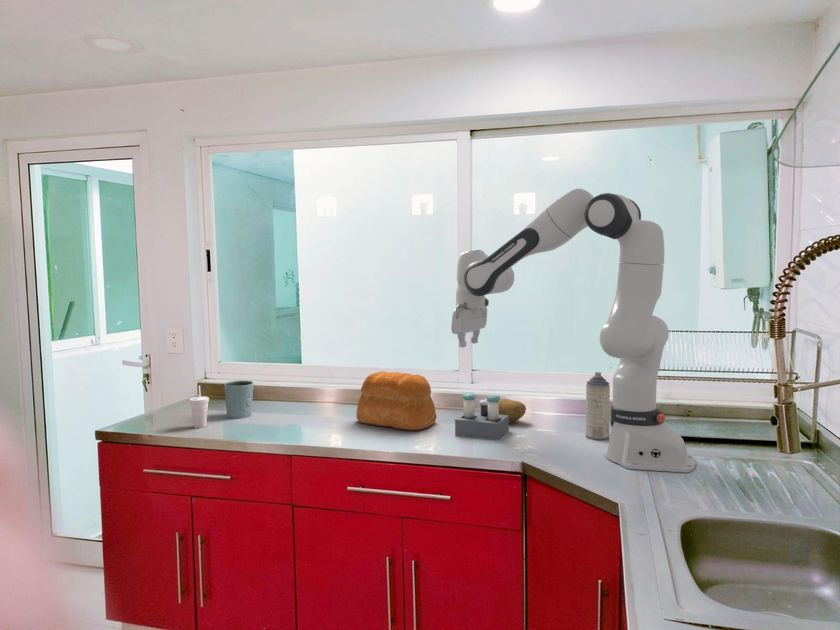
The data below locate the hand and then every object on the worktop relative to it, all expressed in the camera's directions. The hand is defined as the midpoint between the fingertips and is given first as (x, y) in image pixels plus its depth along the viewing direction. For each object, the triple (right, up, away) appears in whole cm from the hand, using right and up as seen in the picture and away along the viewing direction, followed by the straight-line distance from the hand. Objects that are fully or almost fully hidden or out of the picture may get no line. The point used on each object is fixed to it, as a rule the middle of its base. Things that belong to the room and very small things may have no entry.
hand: (468, 345), depth 189 cm
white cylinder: (0, -23, 0) cm, 23 cm away
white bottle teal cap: (+7, -23, -4) cm, 24 cm away
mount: (+4, -28, -1) cm, 28 cm away
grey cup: (-80, -27, +26) cm, 89 cm away
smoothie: (-90, -28, +11) cm, 95 cm away
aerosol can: (+39, -28, -7) cm, 48 cm away
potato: (+14, -27, +12) cm, 32 cm away
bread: (-23, -27, +13) cm, 38 cm away
